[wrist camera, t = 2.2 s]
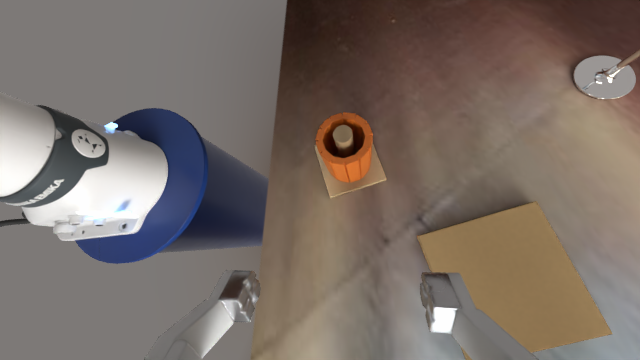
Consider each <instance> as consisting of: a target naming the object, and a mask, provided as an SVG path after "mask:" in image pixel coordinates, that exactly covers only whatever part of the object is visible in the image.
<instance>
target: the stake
mask: <svg viewBox="0 0 640 360" xmlns="http://www.w3.org/2000/svg"><path fill="white" fill-rule="evenodd" d="M333 138H334V141H335V144H336V147H337V150H338V151H337V152H336V153H335V155H334V157H340V158H346V157H349V156H352V155H355V154H356V153H357V152H358V151H359V149H357V148H356V147H354V142H353V134H352V130H351V128H350V127H348V126H346V125H341V126H338V127H337V128H336V129H335V130H334V132H333ZM314 148H315V151H316V154H317V157H318V161H319V164H320V167H321V170H322V174H323V177H324V180H325V183H326V187H327V190H328V193H329V197H330V198H334V197H337V196H340V195H343V194H346V193H349V192H352V191H355V190H358V189H361V188H364V187H367V186H371V185H374V184H377V183H380V182H383V181H386V179H387V178H386V176H385V173H384V171H383V168H382V166H381V163H380V160H379V158H378V155H377V153H376V150H375V148H374V145H373V143H372V155H371V164H370V169H369V170H368V172H367V173H366V175H365V176H364V177H363V178H362V179H361V178H360V180H358V181H355V182H352V183H350V181H349V183H347V182H342V181H339V180H337V179H336V178H334V177H333V176H332V175H331V174H330V172H329V171H328V169H327V167H326V165H325V163H324V161H323V159H322V158H321V156H320V154H319V152H318V148H317V145H316V146H314Z"/></svg>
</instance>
